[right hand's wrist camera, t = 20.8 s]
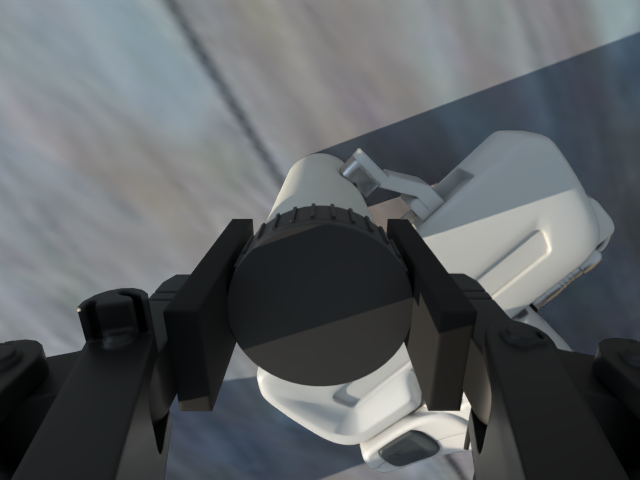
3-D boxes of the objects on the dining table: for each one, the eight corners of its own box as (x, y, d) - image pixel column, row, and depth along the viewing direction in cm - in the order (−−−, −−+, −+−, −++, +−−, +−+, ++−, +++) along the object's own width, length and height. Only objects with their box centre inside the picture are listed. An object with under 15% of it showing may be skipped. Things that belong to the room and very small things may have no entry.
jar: (338, 141, 24) (365, 195, 10) (365, 205, 25) (422, 333, 11) (273, 171, 24) (210, 262, 10) (303, 232, 26) (283, 383, 12)
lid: (410, 338, 12) (424, 374, 11) (259, 361, 13) (250, 400, 11) (393, 187, 11) (407, 203, 9) (217, 219, 11) (198, 240, 9)
